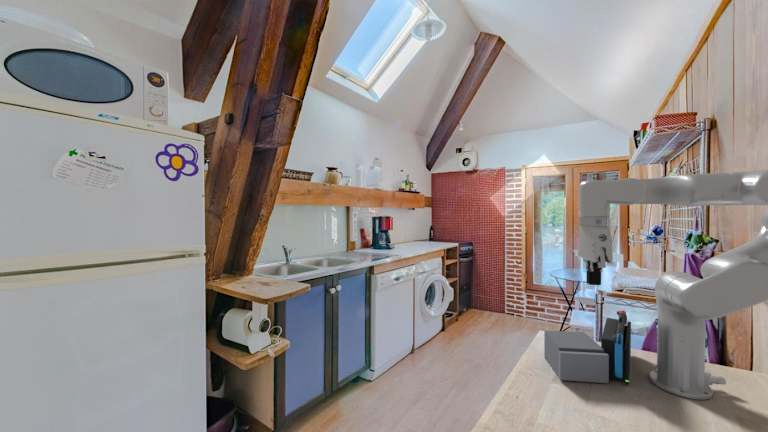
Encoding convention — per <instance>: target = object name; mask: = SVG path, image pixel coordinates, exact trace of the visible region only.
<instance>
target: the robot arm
mask: <svg viewBox="0 0 768 432" xmlns="http://www.w3.org/2000/svg"><path fill="white" fill-rule="evenodd" d="M578 186H579V187H578V189H579V190H578V228H579V229H580V230H579V242H578V251H579V256H580V258H582V260H583V262H584V263H585V270H586V283H587V284H588V285H589V286H590V285H591V286H601V284H602V272H603V268H607V264H608V263H613V259H614V258H613V253H614V252H613V242H612V240H613V239H612V238H613V237H612V232H611V214H610V213H611V204H613V205H622V206H633V205H667V206H668V205H669V206H678V207H679V206H684V207H688V206H689V207H690V206H691V207H695V206H696V207H699V206H702V207H703V206H704V207H705V206H768V169H764V170H762V169H761V170H754V171H753V170H752V171H751V170H750V171H737V172H736V171H735V172H733V171H731V172H714V173H713V172H712V173H709V172H708V173H706V172H705V173H688V174H678V175H671V176H665V177H656V178H635V177H626V178H619V179H613V180H612V179H611V180H604V179H597V180H595V179H594V180H584V181H581V182H580V183H579V185H578ZM699 270H700V271H699V272H700V275H701V277H702V278H700V277H698V276H695V275H692V274H690V273H688V272H683V271H668V272H665V273H663V274H662V275H660V276H659V277H658V278H657V280H656V282H655V285H654V295H655V300H656V301H655V302H656V308H657V310H656V311H657V332H656V333H657V338H656V339H657V340H656V341H657V343H656V348H657V349H656V369H655V370H652V371H650V372H649V379H650V381H651V382H652V383H653V384H654V385H655V386H657V387H658V388H660V389H662V390H664V391H666V392H668V393H671V394H674V395H676V396H680V397H683V398H687V399H692V400H699V401H700V400H708V399H711V398H712V397H713V395H714V393H713V392H714V391H713V389H712V387H710V386H712V385H724V386H725V385H727V381H726V379H725V378H724V377H723V376H717V375H716V376H715V375H713V376H712V373H710V372H706V369H705V368H706V335H707V327H706V321H709V320H715V319H716V320H717V319H720V318H723V317H727V316H728V315H731V314H734V313H737V312H740V311H743V310H745V309H748V308H750V307H753V306H756V305H759V304H761V303H765V302H766V301H768V208H767V209H765V211H764V212H763V213H762V216H761V221H760V230H759V232H758V234H757V235H756V237H754V238H752V239H751V240H749V241H747V242H745V243H744V244H742V245H738V246H737V247H735V248H732V249H730V250H729V249H728V250H727V251H725V252H722V253H720V254H717V255H713V256H711V257H710V258H708V259H707V260H705V261H704V262H703V263H702V264H701V266H700V269H699Z"/></svg>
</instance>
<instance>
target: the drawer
mask: <svg viewBox="0 0 768 432" xmlns="http://www.w3.org/2000/svg"><path fill="white" fill-rule="evenodd" d="M558 379H559V380H560V381H573V382H584V383H585V382H587V383H602V384H610V383H609V381H610V380H609V355H608V354H607V353H592V352H573V351H559V378H558Z"/></svg>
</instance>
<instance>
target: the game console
mask: <svg viewBox="0 0 768 432" xmlns="http://www.w3.org/2000/svg"><path fill="white" fill-rule="evenodd" d="M616 315H617V316H618V319H616V318H611V317H606V320H605V324H604V327H603V332H602V334H601V338H600V339H601V342H600V344H601V345H600V347H602V348H603V349H604V353H607V354H608V355H609V381H612V382H616V383H620V384H623V385H626V386H630V371H631V355H632V354H631V351H632V350H631V349H632V348H631V347H632V345H631V343H632V321H629V320H628V316H627V312H626V311H625V310H619V311H616Z"/></svg>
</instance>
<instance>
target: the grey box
mask: <svg viewBox="0 0 768 432" xmlns="http://www.w3.org/2000/svg"><path fill="white" fill-rule="evenodd" d="M543 336H544V343H543V345H544V346H543V347H544V350H543V351H544V356H543V357H544V359H545V360H547V361H546V363H548V364H550V365H549V366H550V367H552V368H551V369H552V371H553V372H554V373H555V375H556V376H557V377H558V379H559V351H573V352H592V353H604V349H603V348H602V347H601V345H599V343H597V342H596V341H595V340H593V338H591V337H590V336H589V334H587V333H586V332H584V331H567V330H566V331H564V330H544V335H543Z"/></svg>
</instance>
